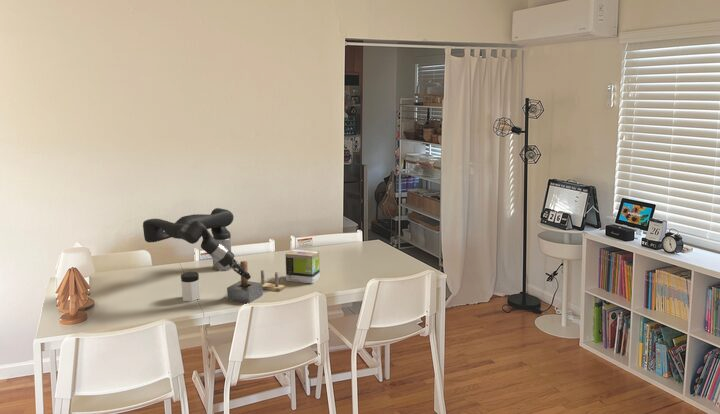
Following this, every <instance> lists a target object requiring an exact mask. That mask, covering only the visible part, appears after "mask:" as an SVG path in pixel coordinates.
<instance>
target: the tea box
mask: <svg viewBox="0 0 720 414" xmlns="http://www.w3.org/2000/svg"><path fill="white" fill-rule="evenodd" d="M320 272H321V271H320V251H318V250H308V249H307V250H306V249H304V250H303V249H294V248H293V249H291V250H290V251H288V252H286V253H285V273H286V274H285V277H286V279H285V281H286V282H296V283H306V284H314V283H315V282H317V281H318V280H319V279H320V276H321V275H320V274H321V273H320Z"/></svg>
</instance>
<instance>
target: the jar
mask: <svg viewBox="0 0 720 414" xmlns="http://www.w3.org/2000/svg"><path fill="white" fill-rule="evenodd" d="M199 279H200V275H199V272H197V271H187V272H184V273H180V284H181V297H182V302H191V301H192V302H195V301H198V300H200V299H201V290H200V280H199ZM197 299H198V300H197Z"/></svg>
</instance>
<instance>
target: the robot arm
mask: <svg viewBox="0 0 720 414" xmlns="http://www.w3.org/2000/svg"><path fill="white" fill-rule="evenodd" d="M233 221H234V214H233V212H232V211H230V210H228V209H225V208H219V207H217V208H214V209H212V211H211V212H210V214H201V213H200V214H199V213H198V214H195V213H194V214H189V215H184V216H181V217H179V219H177V220H176V221H175V222H171V221H168V220H165V219H161V218H149V219H146V220H144V221H143V222H142V228H143V238H144V241H145V242H146V243H156V242H160V241H161V242H162V241H164V240H167V239H170V238H173V239H177V240H184V241H186V242H187V243H189V244H191V245H193V244H197V242H199V241H200V239H201V238H202V241H201V244H200V248H201V249H202V250H203V251H204V252H205V253H207V254H208V255H209V256H210V257H211V258H212V269H214V270H216V271H222V272H223V271H228V270H229V271H230V270H233V272H236V274H238V275H239V276H240V277H241V276H244V277H245V278H246V279H247V280H248V281H249V280H250V279H251V278H252V275H250V273H249V272H248V273H246V272H245V270H243V269H242V267H241V266H240V262H238V260H236V259H235V254H234V253H233V252H232V239H231V238H232V237H231V235H232V234H231V232H230V231H229V230H228V229H227V227H228V226H230V225H232V223H233ZM209 230H210V231H211V233H210V231H209ZM241 271H242V272H241Z"/></svg>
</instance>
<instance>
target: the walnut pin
mask: <svg viewBox="0 0 720 414" xmlns="http://www.w3.org/2000/svg"><path fill="white" fill-rule="evenodd" d="M239 264H240V266H241V267H242V269H243V270H245V272H246V273H249V270H248V261H247V260H246V261H245V260H242V261H240V262H239ZM241 272H242V271H241ZM240 281H241V287H245V288H247V287H248V281H249V280H247V279H246V278H245V277H244V276H240Z"/></svg>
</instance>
